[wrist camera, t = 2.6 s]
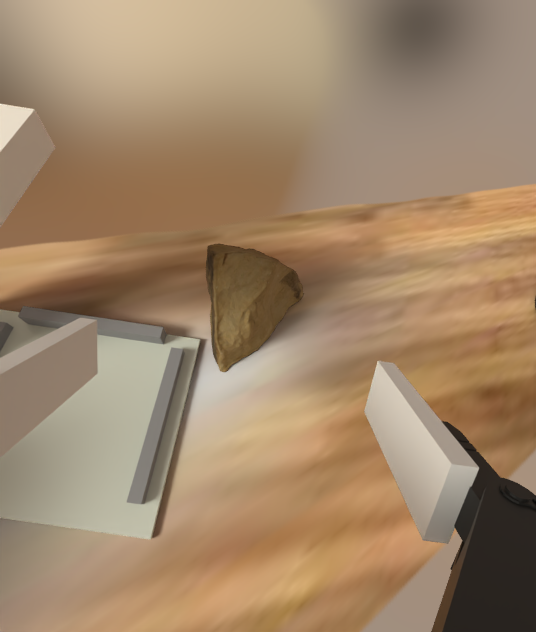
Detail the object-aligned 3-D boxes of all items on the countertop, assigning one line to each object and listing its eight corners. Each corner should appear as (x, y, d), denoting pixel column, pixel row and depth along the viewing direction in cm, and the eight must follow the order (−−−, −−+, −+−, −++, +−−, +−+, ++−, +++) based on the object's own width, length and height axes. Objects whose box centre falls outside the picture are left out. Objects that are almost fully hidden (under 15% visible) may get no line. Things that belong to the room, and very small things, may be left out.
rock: (295, 244, 33) (195, 248, 30) (339, 236, 25) (208, 242, 22) (300, 347, 35) (206, 361, 32) (342, 371, 27) (222, 394, 24)
